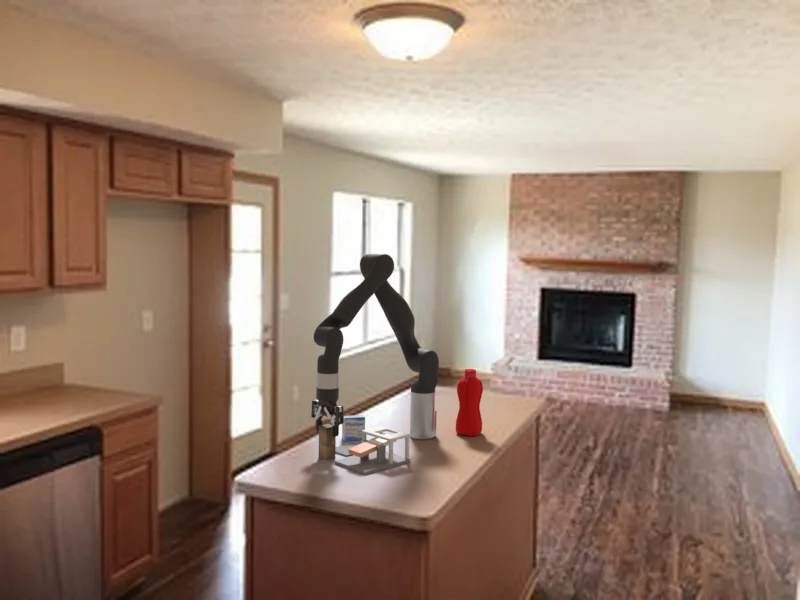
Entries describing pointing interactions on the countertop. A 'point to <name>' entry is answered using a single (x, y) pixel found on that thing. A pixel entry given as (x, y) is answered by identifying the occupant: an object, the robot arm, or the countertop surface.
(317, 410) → the robot arm
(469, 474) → the countertop surface
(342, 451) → the mat
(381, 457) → the white square frame
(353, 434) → the medicine box
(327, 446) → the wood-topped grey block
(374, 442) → the rocker
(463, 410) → the water bottle
